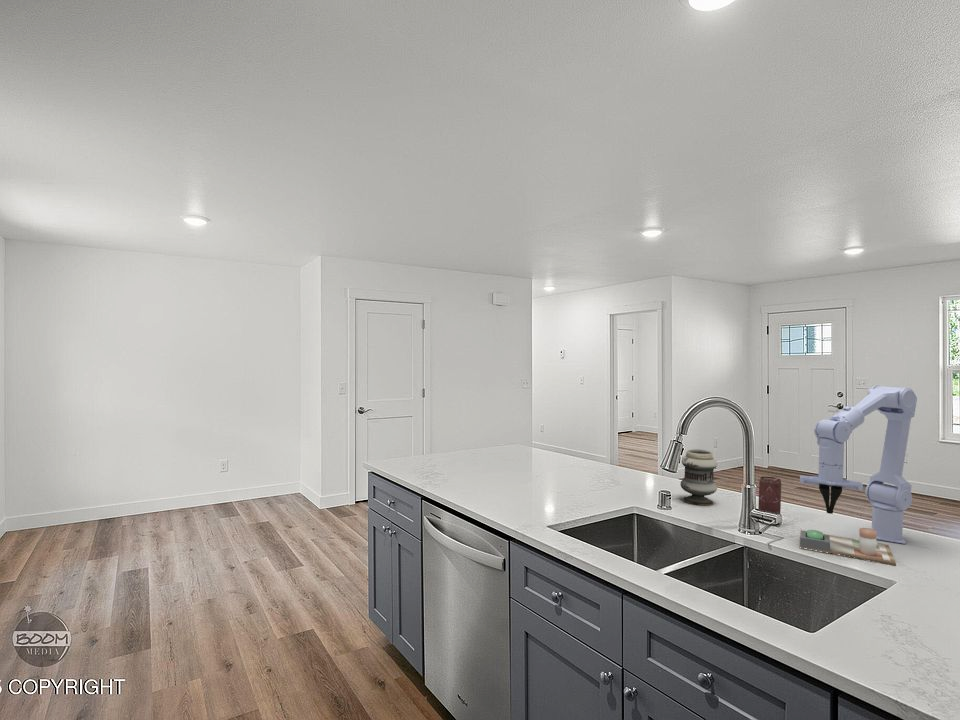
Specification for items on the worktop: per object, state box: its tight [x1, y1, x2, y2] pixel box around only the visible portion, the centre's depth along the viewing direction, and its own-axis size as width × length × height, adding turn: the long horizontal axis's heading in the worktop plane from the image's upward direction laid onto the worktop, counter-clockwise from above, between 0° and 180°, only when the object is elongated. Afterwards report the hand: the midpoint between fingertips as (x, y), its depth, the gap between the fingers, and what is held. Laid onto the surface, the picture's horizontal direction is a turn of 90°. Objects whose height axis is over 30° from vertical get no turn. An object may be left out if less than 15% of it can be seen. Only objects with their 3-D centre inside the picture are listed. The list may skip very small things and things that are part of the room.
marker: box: [858, 527, 877, 555], centre depth 143 cm, size 4×4×6 cm
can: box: [757, 476, 782, 515], centre depth 170 cm, size 6×6×14 cm
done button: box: [806, 529, 824, 540], centre depth 149 cm, size 4×4×3 cm
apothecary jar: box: [680, 448, 718, 507], centre depth 192 cm, size 12×12×18 cm
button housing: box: [799, 530, 830, 552], centre depth 149 cm, size 7×7×2 cm
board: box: [799, 529, 897, 567], centre depth 149 cm, size 16×21×1 cm
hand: (829, 512), depth 150 cm, fingers closed
